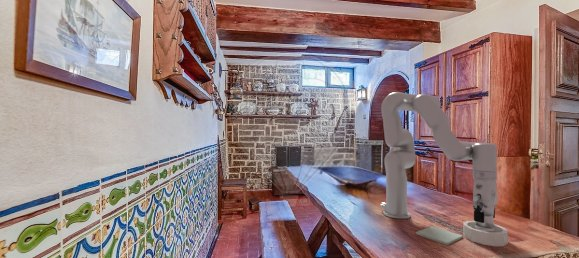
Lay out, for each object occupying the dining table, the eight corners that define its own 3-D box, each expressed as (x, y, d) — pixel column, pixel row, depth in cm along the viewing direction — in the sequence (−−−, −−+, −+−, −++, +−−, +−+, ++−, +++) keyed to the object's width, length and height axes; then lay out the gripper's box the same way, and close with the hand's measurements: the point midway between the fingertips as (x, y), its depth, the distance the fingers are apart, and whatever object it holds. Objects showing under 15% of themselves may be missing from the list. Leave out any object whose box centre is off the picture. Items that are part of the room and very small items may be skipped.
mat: (415, 234, 106) (415, 232, 106) (431, 228, 113) (431, 226, 113) (447, 245, 96) (447, 242, 96) (462, 237, 103) (462, 235, 103)
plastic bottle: (469, 235, 105) (469, 185, 105) (485, 235, 106) (485, 184, 106) (483, 242, 99) (483, 188, 99) (500, 241, 99) (499, 188, 99)
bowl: (457, 236, 104) (457, 225, 104) (472, 229, 111) (472, 218, 111) (498, 249, 93) (498, 236, 93) (512, 240, 100) (512, 228, 100)
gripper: (486, 178, 94) (486, 227, 94) (505, 174, 104) (505, 218, 104) (463, 175, 100) (463, 221, 100) (482, 171, 110) (482, 213, 110)
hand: (484, 219), depth 102 cm, fingers open, 9 cm apart
